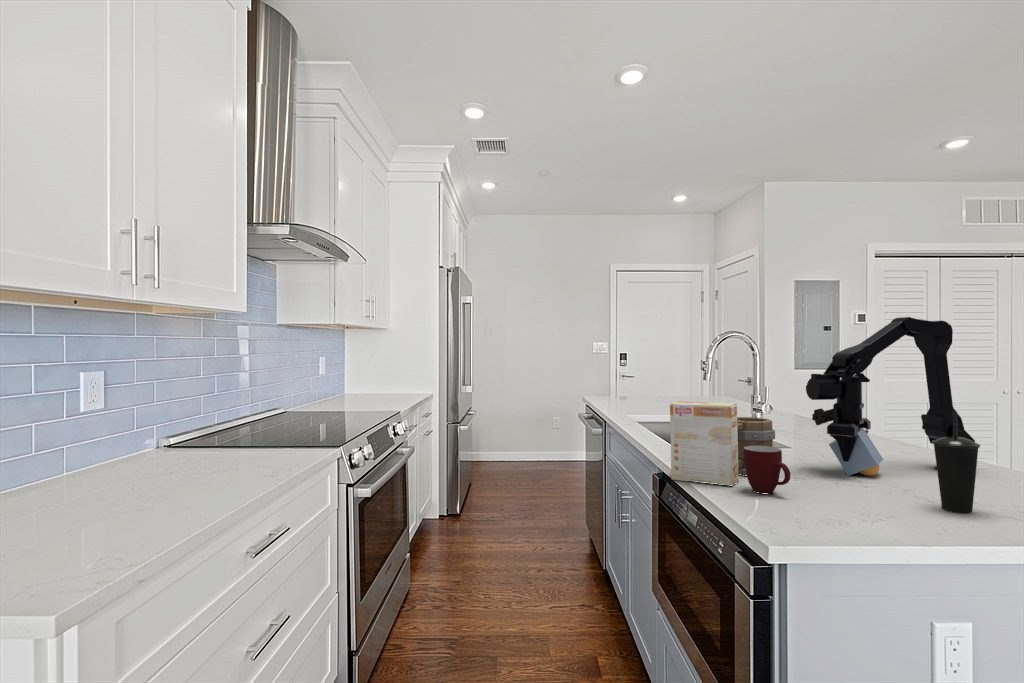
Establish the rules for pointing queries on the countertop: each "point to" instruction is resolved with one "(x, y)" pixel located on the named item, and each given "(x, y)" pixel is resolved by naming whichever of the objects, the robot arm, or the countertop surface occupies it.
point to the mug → (764, 468)
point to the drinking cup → (956, 470)
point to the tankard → (752, 436)
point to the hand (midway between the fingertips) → (849, 459)
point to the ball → (870, 471)
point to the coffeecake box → (704, 442)
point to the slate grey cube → (859, 454)
